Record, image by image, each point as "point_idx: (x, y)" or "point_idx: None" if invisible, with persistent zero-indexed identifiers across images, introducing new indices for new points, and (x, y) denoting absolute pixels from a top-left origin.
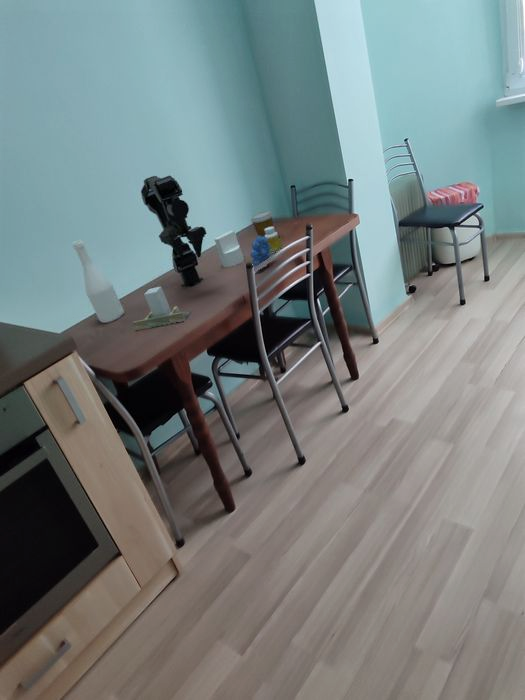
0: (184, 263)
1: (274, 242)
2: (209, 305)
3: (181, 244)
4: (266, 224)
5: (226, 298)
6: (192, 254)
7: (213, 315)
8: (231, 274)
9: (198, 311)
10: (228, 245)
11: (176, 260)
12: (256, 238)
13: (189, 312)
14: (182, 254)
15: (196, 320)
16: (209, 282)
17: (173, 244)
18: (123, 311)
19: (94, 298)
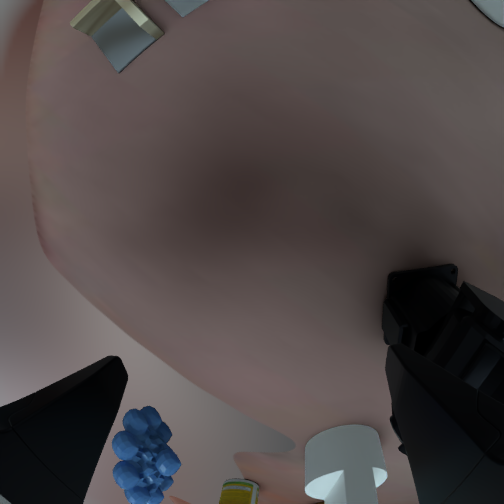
0: (434, 346)
1: (220, 502)
2: (85, 143)
3: (419, 499)
4: None
5: (69, 212)
6: (399, 430)
7: (28, 111)
8: (259, 391)
9: (91, 92)
10: (335, 498)
11: (487, 330)
12: (133, 497)
13: (116, 65)
14: (393, 390)
15: (55, 61)
16: (314, 325)
17: (498, 480)
18: (480, 6)
19: None
